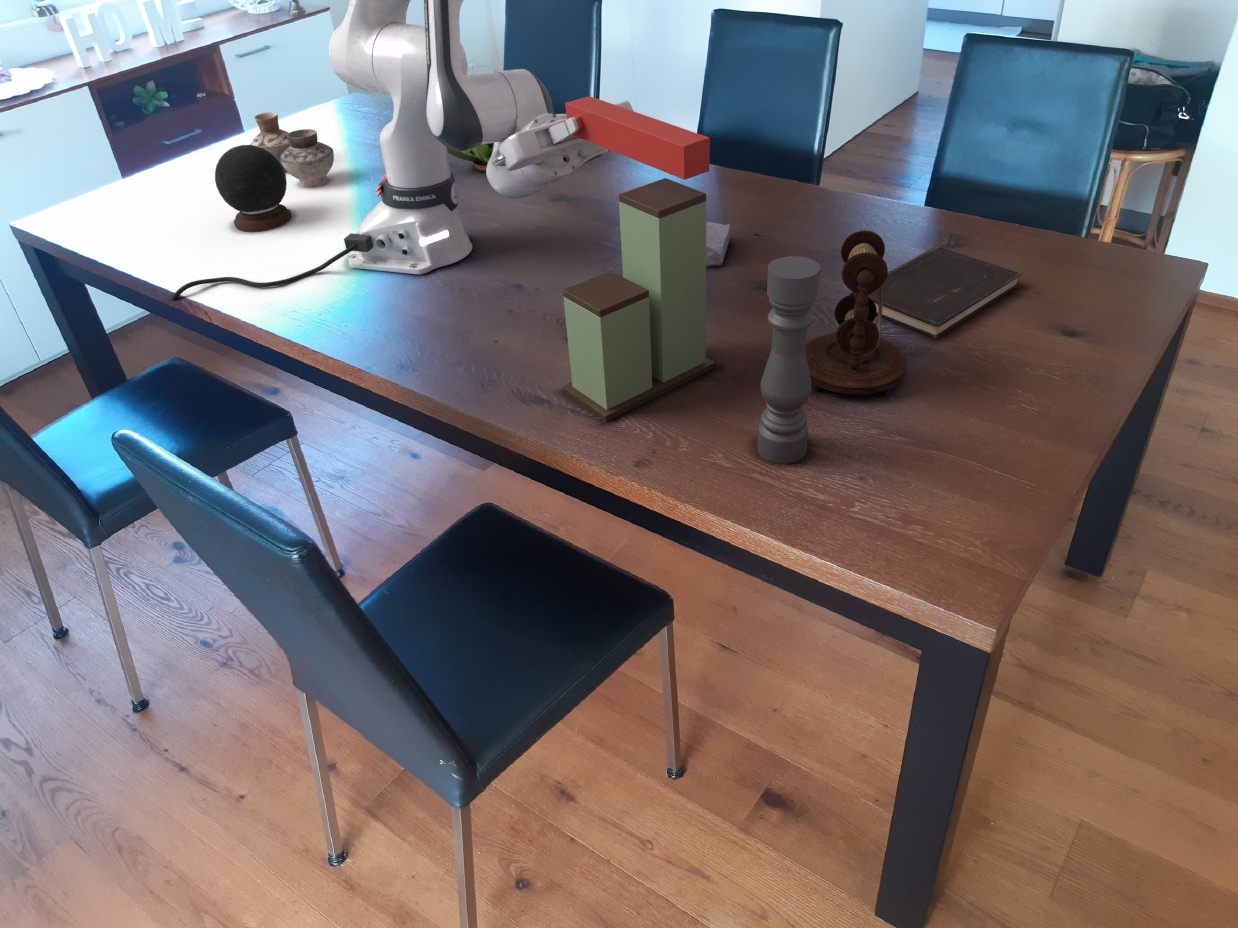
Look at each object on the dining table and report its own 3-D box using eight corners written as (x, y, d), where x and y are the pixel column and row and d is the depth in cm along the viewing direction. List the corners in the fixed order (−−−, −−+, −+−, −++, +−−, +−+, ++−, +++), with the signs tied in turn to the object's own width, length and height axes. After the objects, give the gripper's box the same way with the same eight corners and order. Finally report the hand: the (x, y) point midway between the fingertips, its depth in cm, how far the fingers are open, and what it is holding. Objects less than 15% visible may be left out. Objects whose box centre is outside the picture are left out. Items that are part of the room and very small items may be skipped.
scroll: (908, 406, 121) (931, 268, 109) (795, 400, 124) (806, 265, 112) (901, 349, 133) (921, 219, 121) (798, 345, 135) (807, 217, 123)
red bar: (567, 133, 123) (565, 102, 120) (591, 126, 124) (589, 96, 122) (684, 180, 107) (683, 146, 105) (709, 171, 109) (710, 137, 106)
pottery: (290, 158, 215) (276, 105, 208) (350, 180, 201) (337, 125, 194) (247, 172, 209) (230, 118, 202) (305, 196, 195) (290, 139, 188)
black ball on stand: (215, 230, 183) (190, 155, 173) (258, 205, 192) (236, 133, 183) (268, 237, 178) (245, 161, 169) (310, 211, 188) (290, 138, 179)
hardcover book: (1018, 286, 146) (1021, 273, 145) (936, 339, 135) (938, 325, 133) (931, 257, 156) (933, 244, 155) (847, 304, 145) (849, 291, 143)
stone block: (670, 275, 160) (726, 266, 157) (664, 249, 157) (721, 240, 154) (681, 248, 169) (734, 240, 166) (675, 224, 167) (729, 215, 164)
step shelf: (562, 392, 129) (543, 216, 113) (669, 342, 138) (666, 173, 122) (606, 422, 122) (592, 240, 106) (715, 368, 132) (717, 193, 116)
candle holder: (752, 437, 118) (760, 257, 103) (799, 432, 118) (814, 253, 103) (762, 466, 113) (772, 282, 98) (812, 461, 113) (829, 277, 98)
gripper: (479, 145, 126) (519, 112, 114) (597, 110, 135) (646, 76, 123) (496, 189, 128) (538, 161, 116) (612, 151, 137) (662, 122, 125)
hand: (595, 117), depth 120 cm, fingers closed on red bar, 4 cm apart
